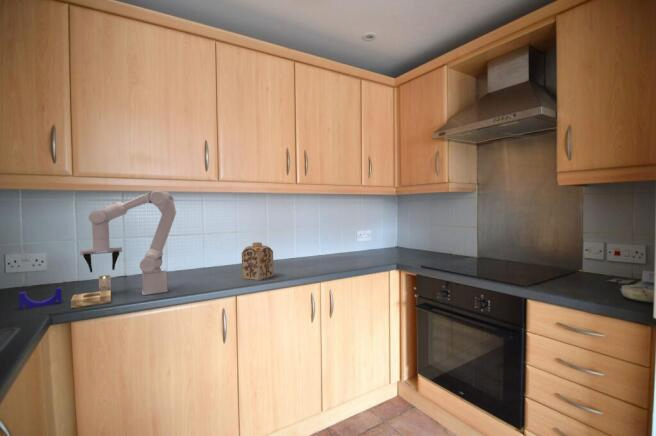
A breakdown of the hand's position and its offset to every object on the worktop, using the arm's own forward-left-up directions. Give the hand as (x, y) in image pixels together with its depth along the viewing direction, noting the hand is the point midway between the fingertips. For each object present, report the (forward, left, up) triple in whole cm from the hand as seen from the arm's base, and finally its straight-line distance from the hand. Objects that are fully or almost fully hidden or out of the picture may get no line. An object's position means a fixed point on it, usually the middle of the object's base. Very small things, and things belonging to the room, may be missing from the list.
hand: (102, 270), depth 138 cm
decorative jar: (-66, +7, -11) cm, 67 cm away
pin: (-1, -1, -10) cm, 10 cm away
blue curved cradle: (+19, +3, -11) cm, 22 cm away
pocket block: (+3, +11, -10) cm, 16 cm away
